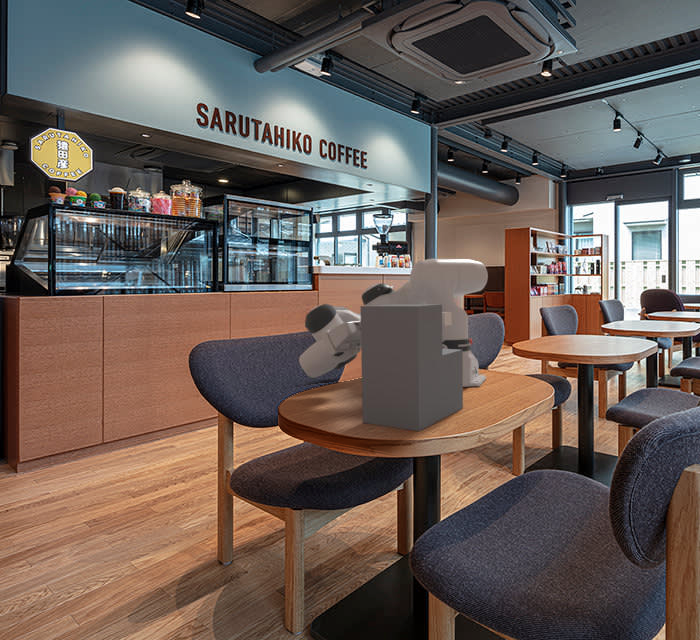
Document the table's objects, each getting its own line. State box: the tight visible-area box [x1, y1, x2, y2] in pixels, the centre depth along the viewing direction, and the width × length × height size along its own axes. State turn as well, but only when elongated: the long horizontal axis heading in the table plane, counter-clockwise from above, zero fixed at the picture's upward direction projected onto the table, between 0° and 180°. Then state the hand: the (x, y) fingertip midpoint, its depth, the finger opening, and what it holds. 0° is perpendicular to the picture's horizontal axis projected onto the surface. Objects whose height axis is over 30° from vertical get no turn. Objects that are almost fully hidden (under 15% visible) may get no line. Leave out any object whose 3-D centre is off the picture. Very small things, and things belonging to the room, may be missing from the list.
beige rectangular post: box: [442, 312, 452, 326], centre depth 125 cm, size 4×21×3 cm, turn 55°
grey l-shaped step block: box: [359, 304, 464, 432], centre depth 118 cm, size 24×14×26 cm, turn 146°
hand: (383, 316), depth 129 cm, fingers closed on beige rectangular post, 4 cm apart
